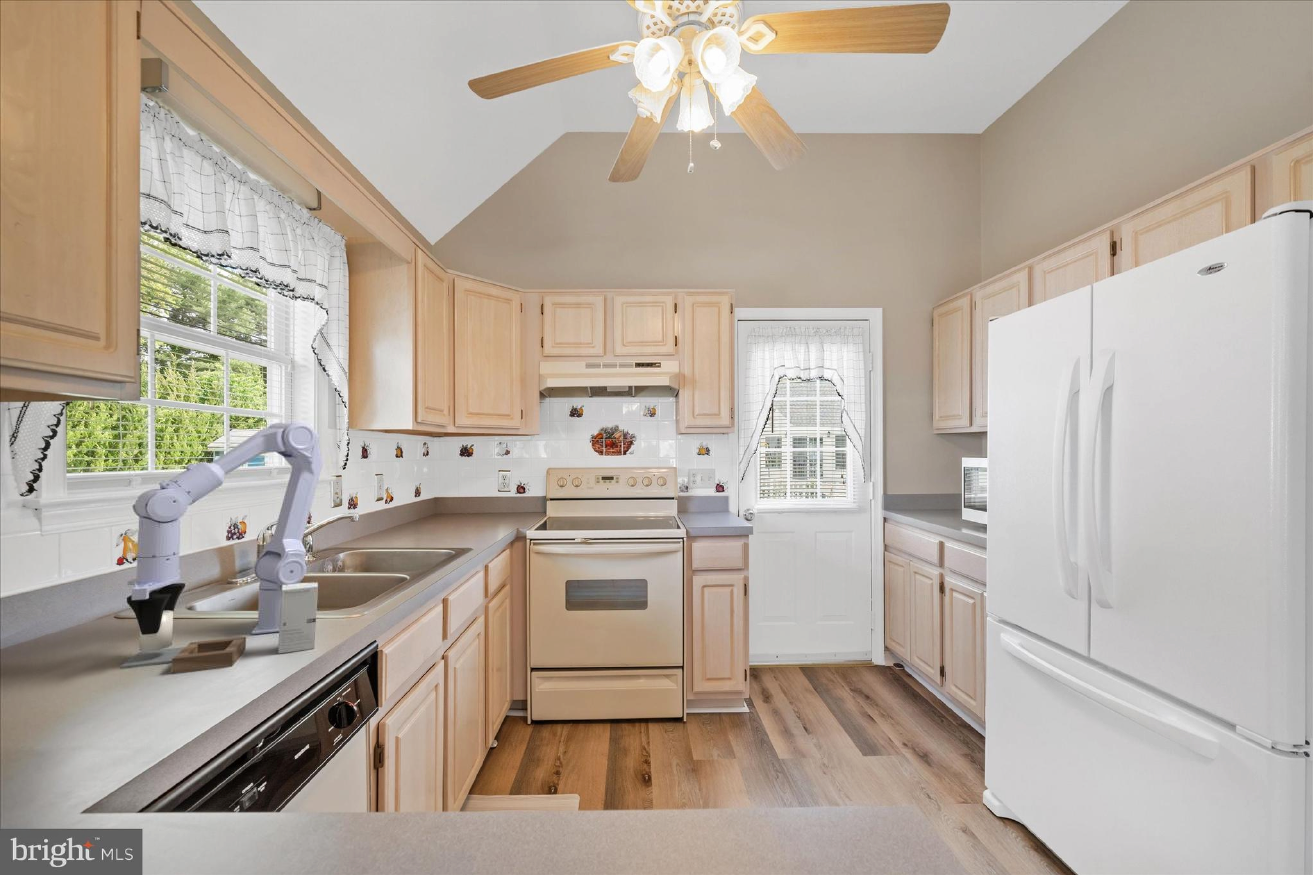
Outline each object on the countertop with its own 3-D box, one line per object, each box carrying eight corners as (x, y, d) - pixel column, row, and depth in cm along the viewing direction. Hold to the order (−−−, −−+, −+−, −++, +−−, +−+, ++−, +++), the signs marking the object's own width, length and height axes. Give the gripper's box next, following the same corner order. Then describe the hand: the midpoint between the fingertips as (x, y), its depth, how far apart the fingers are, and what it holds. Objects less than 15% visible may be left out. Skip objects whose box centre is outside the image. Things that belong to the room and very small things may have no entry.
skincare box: (277, 654, 102) (279, 590, 102) (278, 647, 106) (280, 584, 106) (316, 648, 105) (318, 585, 105) (315, 641, 109) (317, 580, 109)
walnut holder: (190, 655, 100) (190, 642, 101) (245, 649, 104) (245, 636, 104) (171, 673, 93) (172, 658, 93) (231, 666, 96) (232, 652, 96)
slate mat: (139, 654, 101) (139, 651, 101) (186, 648, 104) (187, 646, 104) (120, 668, 94) (120, 666, 94) (171, 662, 97) (171, 660, 97)
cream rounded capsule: (146, 644, 100) (147, 611, 100) (176, 641, 102) (177, 609, 102) (134, 652, 96) (135, 618, 96) (165, 649, 98) (166, 616, 98)
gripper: (148, 548, 104) (145, 619, 104) (109, 564, 91) (106, 645, 91) (194, 546, 107) (192, 615, 107) (163, 561, 94) (160, 640, 94)
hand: (156, 629), depth 99 cm, fingers closed on cream rounded capsule, 4 cm apart
